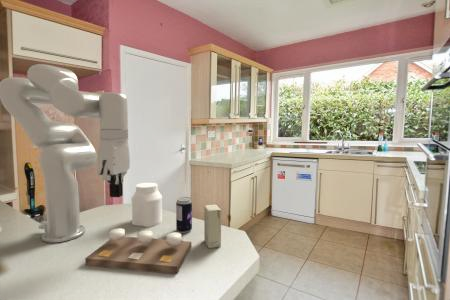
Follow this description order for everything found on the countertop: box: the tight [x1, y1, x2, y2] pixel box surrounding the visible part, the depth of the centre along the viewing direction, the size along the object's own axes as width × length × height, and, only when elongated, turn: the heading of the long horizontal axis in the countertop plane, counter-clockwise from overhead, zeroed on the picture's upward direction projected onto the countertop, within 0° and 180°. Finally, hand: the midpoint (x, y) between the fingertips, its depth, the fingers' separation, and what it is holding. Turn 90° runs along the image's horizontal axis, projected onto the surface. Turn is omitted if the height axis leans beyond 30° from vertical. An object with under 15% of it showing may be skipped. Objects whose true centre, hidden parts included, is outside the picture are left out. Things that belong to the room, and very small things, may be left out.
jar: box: [131, 182, 163, 228], centre depth 98 cm, size 12×10×15 cm
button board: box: [85, 236, 192, 275], centre depth 72 cm, size 26×14×2 cm, turn 83°
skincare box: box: [203, 204, 222, 249], centre depth 80 cm, size 6×4×12 cm
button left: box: [108, 227, 126, 241], centre depth 75 cm, size 4×4×2 cm
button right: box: [165, 231, 182, 246], centre depth 73 cm, size 4×4×2 cm
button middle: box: [136, 229, 154, 243], centre depth 74 cm, size 4×4×2 cm
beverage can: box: [175, 196, 193, 234], centre depth 90 cm, size 6×6×12 cm
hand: (116, 196), depth 74 cm, fingers closed
